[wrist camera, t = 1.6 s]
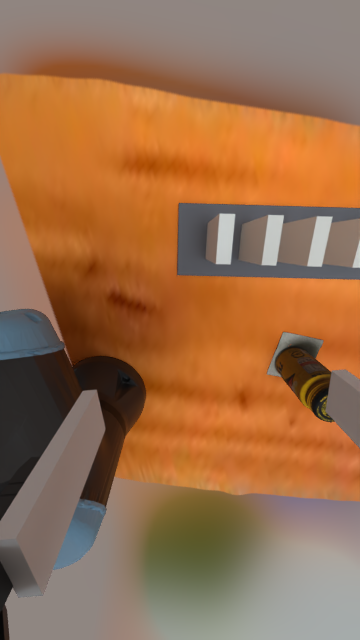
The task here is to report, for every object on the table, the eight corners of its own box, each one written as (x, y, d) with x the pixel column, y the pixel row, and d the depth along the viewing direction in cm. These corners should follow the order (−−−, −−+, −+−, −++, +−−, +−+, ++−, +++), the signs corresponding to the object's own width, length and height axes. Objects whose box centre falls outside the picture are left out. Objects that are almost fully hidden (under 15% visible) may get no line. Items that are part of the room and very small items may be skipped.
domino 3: (271, 260, 34) (307, 266, 24) (276, 225, 32) (317, 216, 23) (281, 260, 34) (321, 266, 24) (287, 225, 32) (332, 216, 23)
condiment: (266, 373, 41) (300, 423, 29) (282, 331, 38) (327, 367, 27) (303, 380, 41) (351, 432, 30) (322, 339, 38) (382, 379, 27)
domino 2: (238, 259, 34) (261, 265, 24) (242, 224, 32) (268, 214, 23) (248, 260, 34) (276, 265, 24) (253, 224, 32) (284, 215, 23)
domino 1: (205, 259, 34) (215, 264, 24) (207, 223, 32) (219, 213, 23) (216, 259, 34) (230, 264, 24) (218, 223, 32) (235, 214, 23)
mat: (177, 274, 35) (177, 275, 34) (178, 203, 32) (178, 203, 31) (379, 279, 35) (381, 280, 35) (400, 209, 32) (403, 209, 32)
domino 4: (303, 261, 34) (352, 267, 24) (310, 225, 32) (365, 217, 23) (314, 261, 34) (366, 267, 24) (321, 226, 32) (380, 218, 23)
